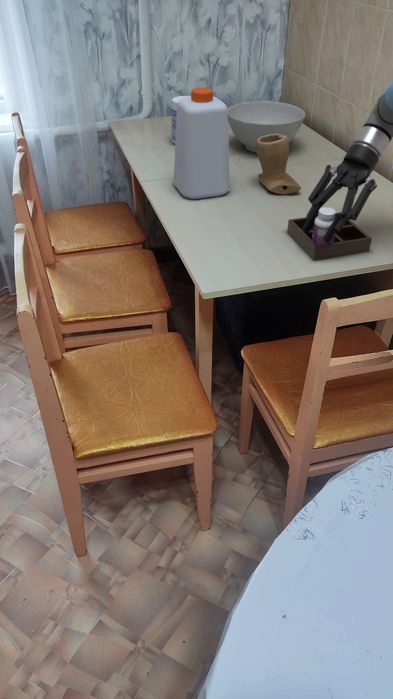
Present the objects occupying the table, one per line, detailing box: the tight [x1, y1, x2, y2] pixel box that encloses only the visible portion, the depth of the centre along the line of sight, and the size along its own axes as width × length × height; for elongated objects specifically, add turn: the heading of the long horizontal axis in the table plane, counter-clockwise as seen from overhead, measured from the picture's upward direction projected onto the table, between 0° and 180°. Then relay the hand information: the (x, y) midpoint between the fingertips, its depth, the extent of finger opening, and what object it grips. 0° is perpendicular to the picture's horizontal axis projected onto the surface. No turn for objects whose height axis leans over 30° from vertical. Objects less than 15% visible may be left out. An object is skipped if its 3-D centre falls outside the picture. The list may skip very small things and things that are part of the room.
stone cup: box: [256, 134, 302, 195], centre depth 162 cm, size 15×12×15 cm
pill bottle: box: [312, 206, 337, 245], centre depth 133 cm, size 5×5×10 cm
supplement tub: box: [171, 95, 191, 145], centre depth 192 cm, size 10×10×15 cm
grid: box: [286, 211, 372, 261], centre depth 139 cm, size 15×15×4 cm
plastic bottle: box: [173, 87, 231, 200], centre depth 156 cm, size 15×15×28 cm
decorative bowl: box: [227, 100, 306, 154], centre depth 189 cm, size 27×27×12 cm
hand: (315, 236), depth 131 cm, fingers open, 6 cm apart
